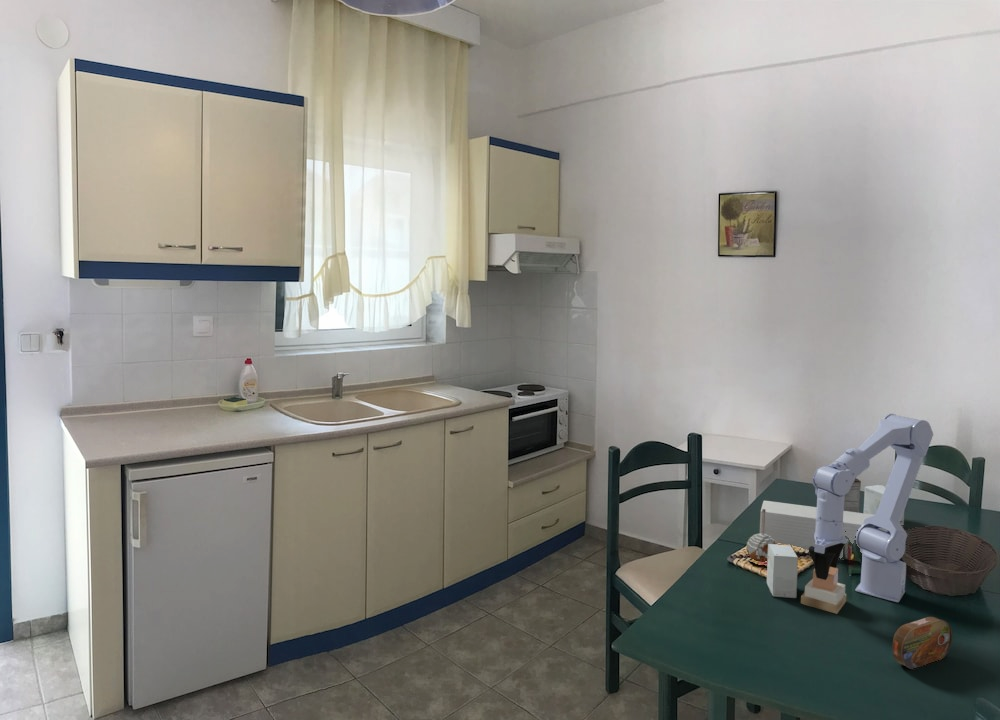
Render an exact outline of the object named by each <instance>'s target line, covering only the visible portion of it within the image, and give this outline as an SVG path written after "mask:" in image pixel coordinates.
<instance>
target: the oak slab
mask: <svg viewBox="0 0 1000 720" xmlns="http://www.w3.org/2000/svg"><path fill="white" fill-rule="evenodd" d="M846 602H847V593H845V595H844V596H843V598H842V599H841V600H840V601H839V602H838V604H837V605H834V604H830V603H827V602H823V601H820V600H817V599H813V598H810V597H806V596H805V591H804V592H803V593H802V594H801V596H800V604H802V605H805V606H808V607H813V608H816V609H819V610H822V611H825V612H829V613H833V614H835V615H837V614H839V612H840V610H841V609H842V608H843V607H844V605H845V603H846Z"/></svg>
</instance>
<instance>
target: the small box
mask: <svg viewBox="0 0 1000 720" xmlns="http://www.w3.org/2000/svg"><path fill="white" fill-rule="evenodd" d="M798 566H799V557H798V555H797V552H794V550H793V548H792V547H791V545H778V544H768V560H767V566H766V567H767V568H766V571H767V572H766V584H767V587H768V589H769V592H770V593H771V595H772V597H775V598H790V599H797V594H798V593H797V592H798V591H797V589H798V568H799V567H798Z"/></svg>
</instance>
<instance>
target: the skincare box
mask: <svg viewBox="0 0 1000 720" xmlns="http://www.w3.org/2000/svg"><path fill="white" fill-rule="evenodd" d="M885 488H886V485H885V486H884V485H881V484H876V485H875V484H874V485H868V486H864V494H863V495H864V497H863V513H865V514H873V515H875V514H876V513H877V510H878V507H879V504H880V502H881V499H882V496H883V493H884V491H885ZM904 523H905V511H904V512H903V515H902V518H901V521H900V525H904V526H905V524H904Z"/></svg>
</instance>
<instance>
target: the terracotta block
mask: <svg viewBox="0 0 1000 720" xmlns="http://www.w3.org/2000/svg"><path fill="white" fill-rule="evenodd" d="M812 579H813V587H817V588H821V589H825V590H829V591H834V589H835V588H836V586H837V585H838V583H839V568H837V567H836V568H834V567H830V569H829V574H828V577H827V579H826V580H823V579H820V578H817V577H816V573H815V568H814V569H813V570H812Z"/></svg>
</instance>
